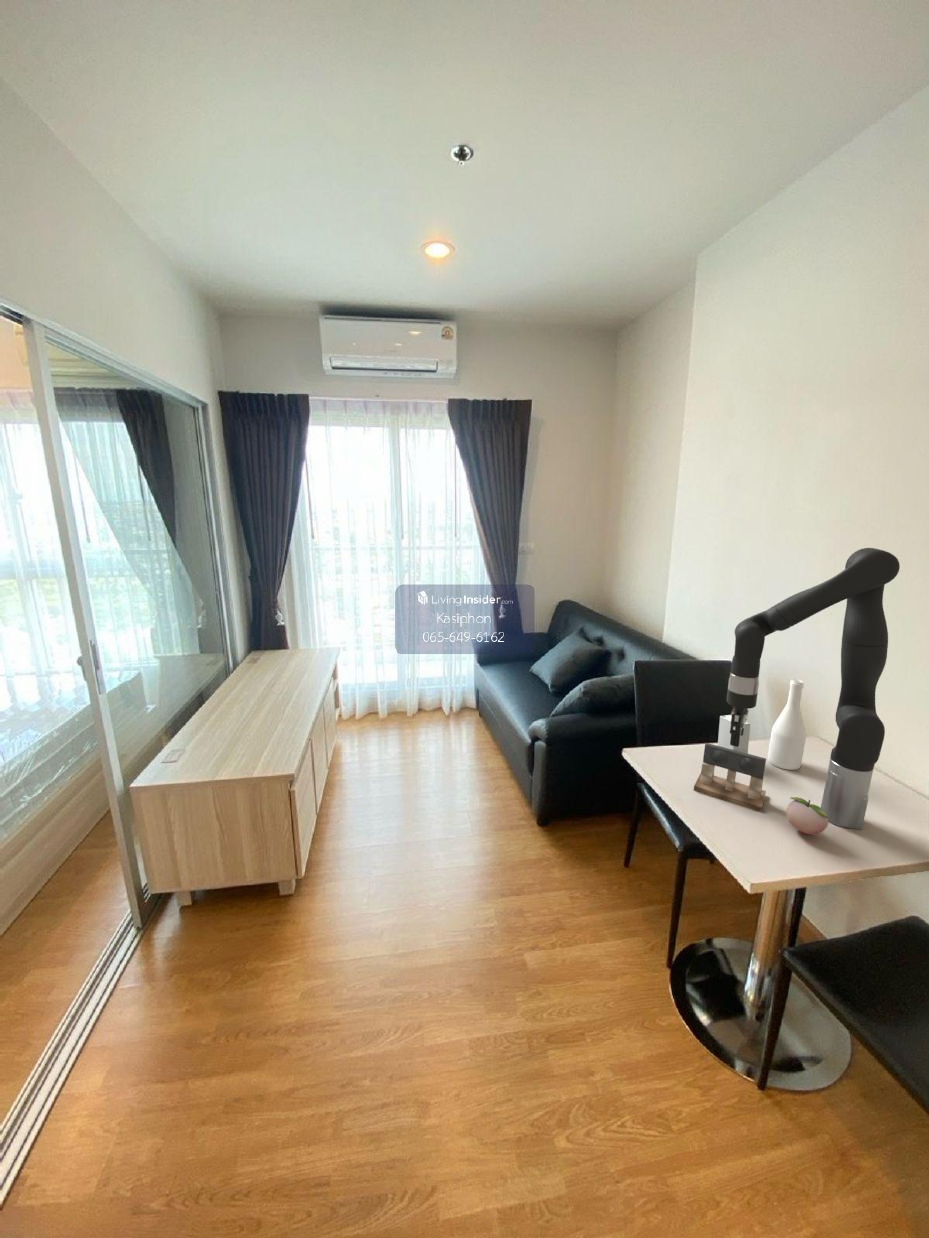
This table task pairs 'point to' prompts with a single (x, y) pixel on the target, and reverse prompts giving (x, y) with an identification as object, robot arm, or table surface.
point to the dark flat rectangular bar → (734, 760)
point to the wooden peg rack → (731, 788)
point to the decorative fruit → (806, 816)
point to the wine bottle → (789, 732)
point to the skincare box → (726, 736)
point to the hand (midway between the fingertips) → (736, 739)
